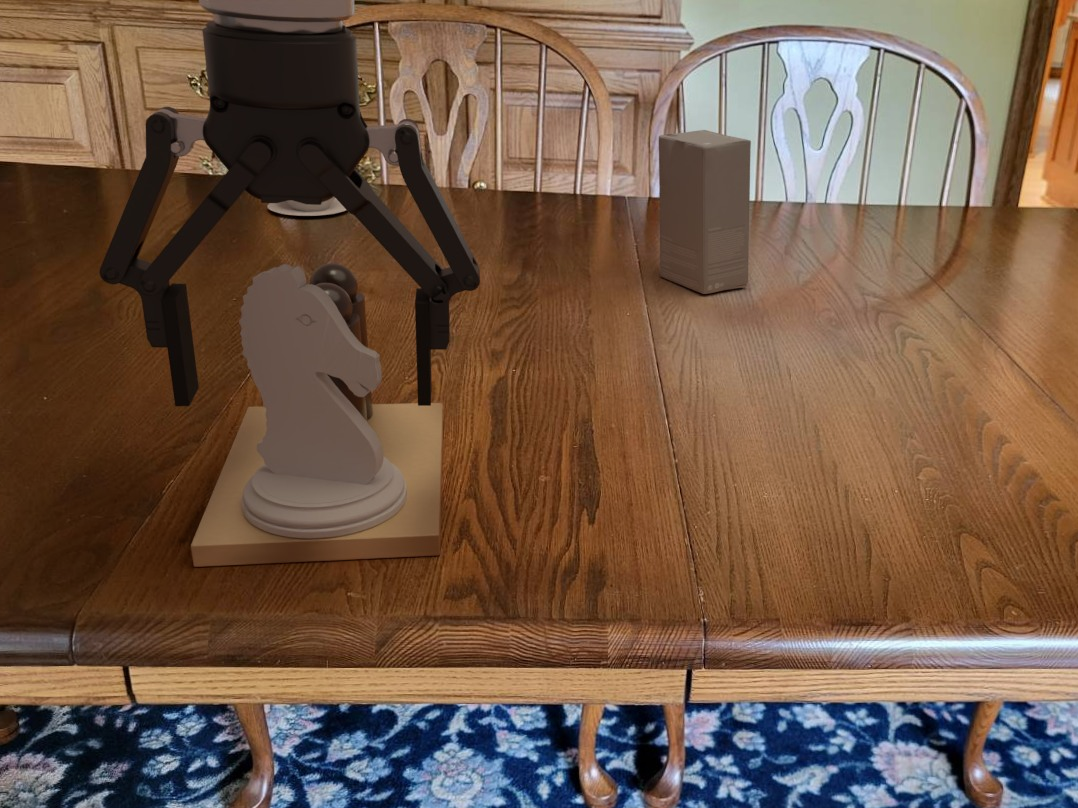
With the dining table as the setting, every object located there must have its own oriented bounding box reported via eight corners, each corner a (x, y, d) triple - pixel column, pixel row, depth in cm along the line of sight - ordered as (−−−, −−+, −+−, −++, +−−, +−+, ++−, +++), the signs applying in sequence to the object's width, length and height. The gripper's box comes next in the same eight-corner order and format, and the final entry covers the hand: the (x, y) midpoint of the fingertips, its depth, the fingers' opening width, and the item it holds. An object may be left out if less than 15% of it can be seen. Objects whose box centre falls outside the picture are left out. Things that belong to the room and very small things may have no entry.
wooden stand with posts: (193, 567, 64) (160, 360, 58) (250, 424, 82) (228, 255, 76) (440, 556, 67) (431, 357, 61) (443, 420, 84) (436, 256, 79)
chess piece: (370, 548, 64) (350, 303, 58) (211, 528, 65) (174, 284, 59) (429, 473, 73) (418, 253, 67) (288, 457, 74) (263, 238, 68)
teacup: (364, 204, 142) (361, 167, 140) (331, 222, 133) (328, 183, 131) (289, 197, 143) (286, 160, 141) (252, 215, 134) (248, 176, 132)
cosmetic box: (748, 288, 120) (761, 140, 113) (696, 298, 116) (706, 144, 109) (701, 268, 126) (711, 126, 119) (650, 276, 122) (656, 129, 115)
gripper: (519, 30, 63) (515, 373, 72) (38, -3, 58) (100, 372, 67) (527, 46, 56) (521, 421, 66) (-16, 10, 51) (61, 424, 60)
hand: (308, 397), depth 66 cm, fingers open, 13 cm apart
